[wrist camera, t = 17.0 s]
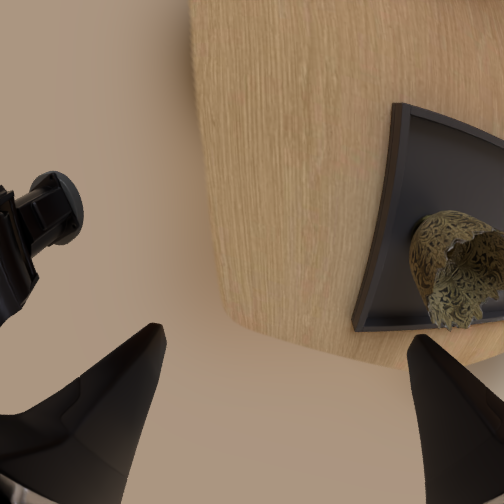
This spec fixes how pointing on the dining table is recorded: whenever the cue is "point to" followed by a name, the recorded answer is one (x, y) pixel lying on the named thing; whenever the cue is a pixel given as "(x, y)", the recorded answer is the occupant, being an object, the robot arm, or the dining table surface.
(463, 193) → the dark gray tray
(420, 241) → the cup
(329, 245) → the dining table surface
